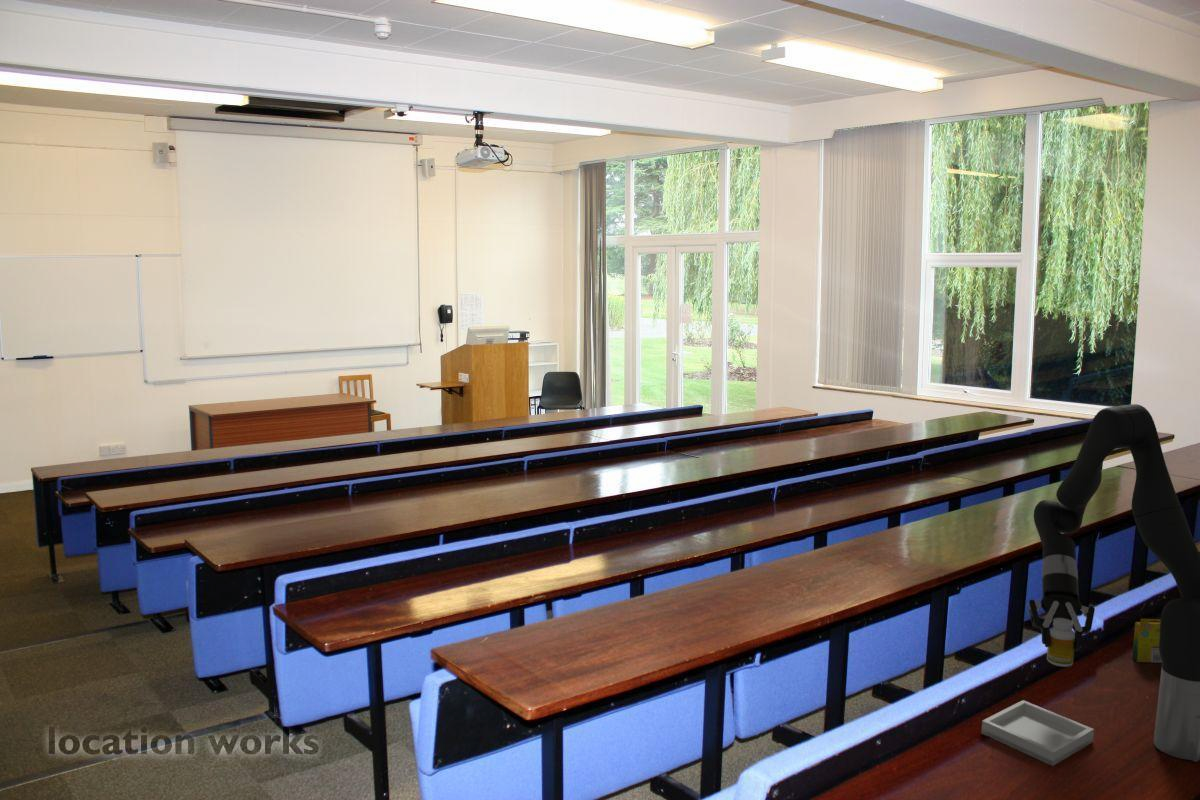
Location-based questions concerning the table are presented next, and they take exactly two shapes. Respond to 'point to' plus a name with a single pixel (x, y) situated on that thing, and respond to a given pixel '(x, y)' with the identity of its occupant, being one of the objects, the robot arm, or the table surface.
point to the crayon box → (1147, 641)
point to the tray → (1037, 732)
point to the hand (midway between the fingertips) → (1062, 647)
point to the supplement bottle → (1061, 643)
